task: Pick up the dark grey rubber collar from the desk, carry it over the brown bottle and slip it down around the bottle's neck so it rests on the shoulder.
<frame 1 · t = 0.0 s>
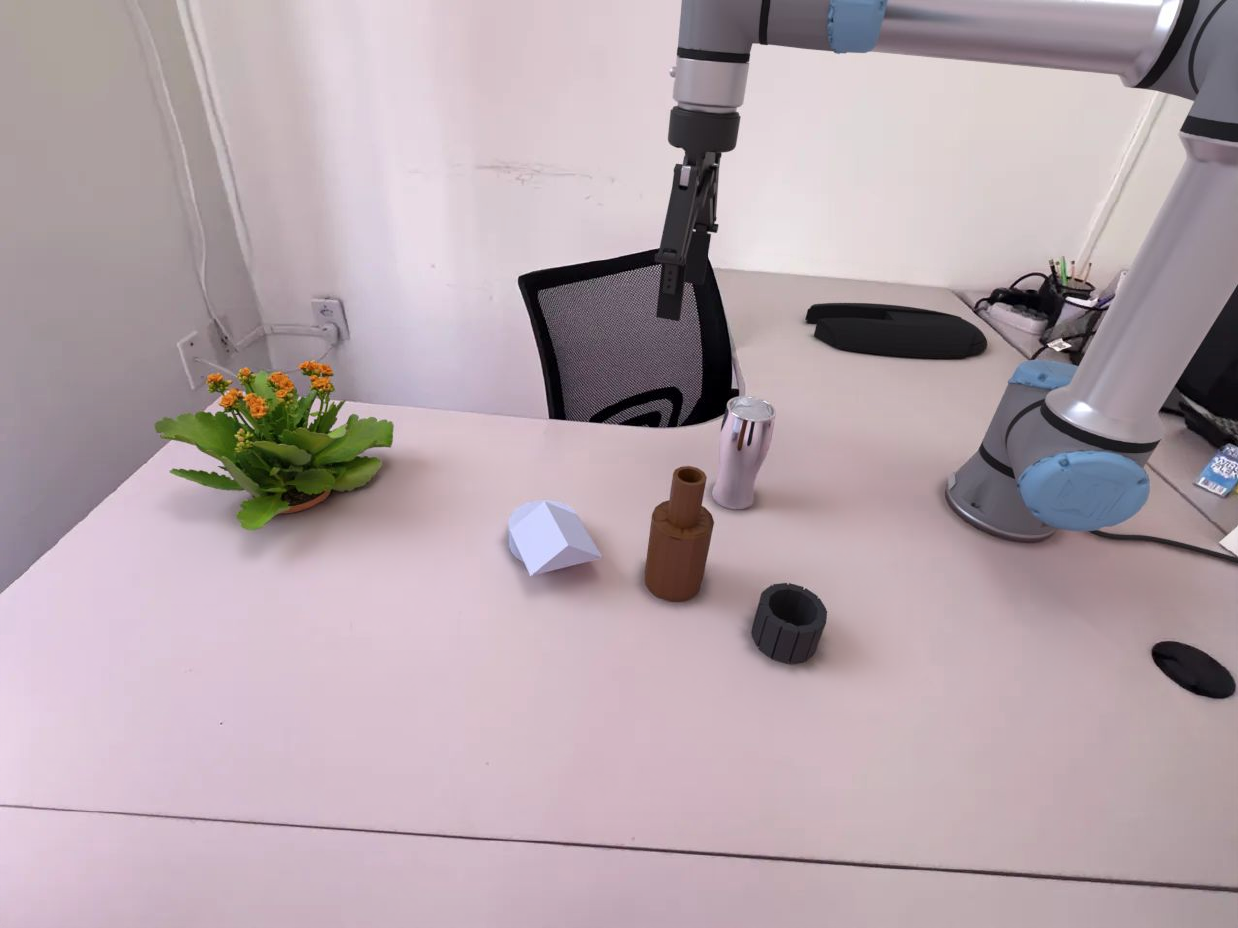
hand: (681, 299, 81), 28 cm above the table, tool pointing down, fingers open, 13 cm apart
beer glass: (732, 498, 95), on the table
potted flower: (288, 496, 88), on the table
wedge on round base: (549, 553, 83), on the table
brown bottle: (672, 580, 80), on the table
rubber collar: (783, 637, 74), on the table
black flat oval pad: (895, 336, 151), on the table
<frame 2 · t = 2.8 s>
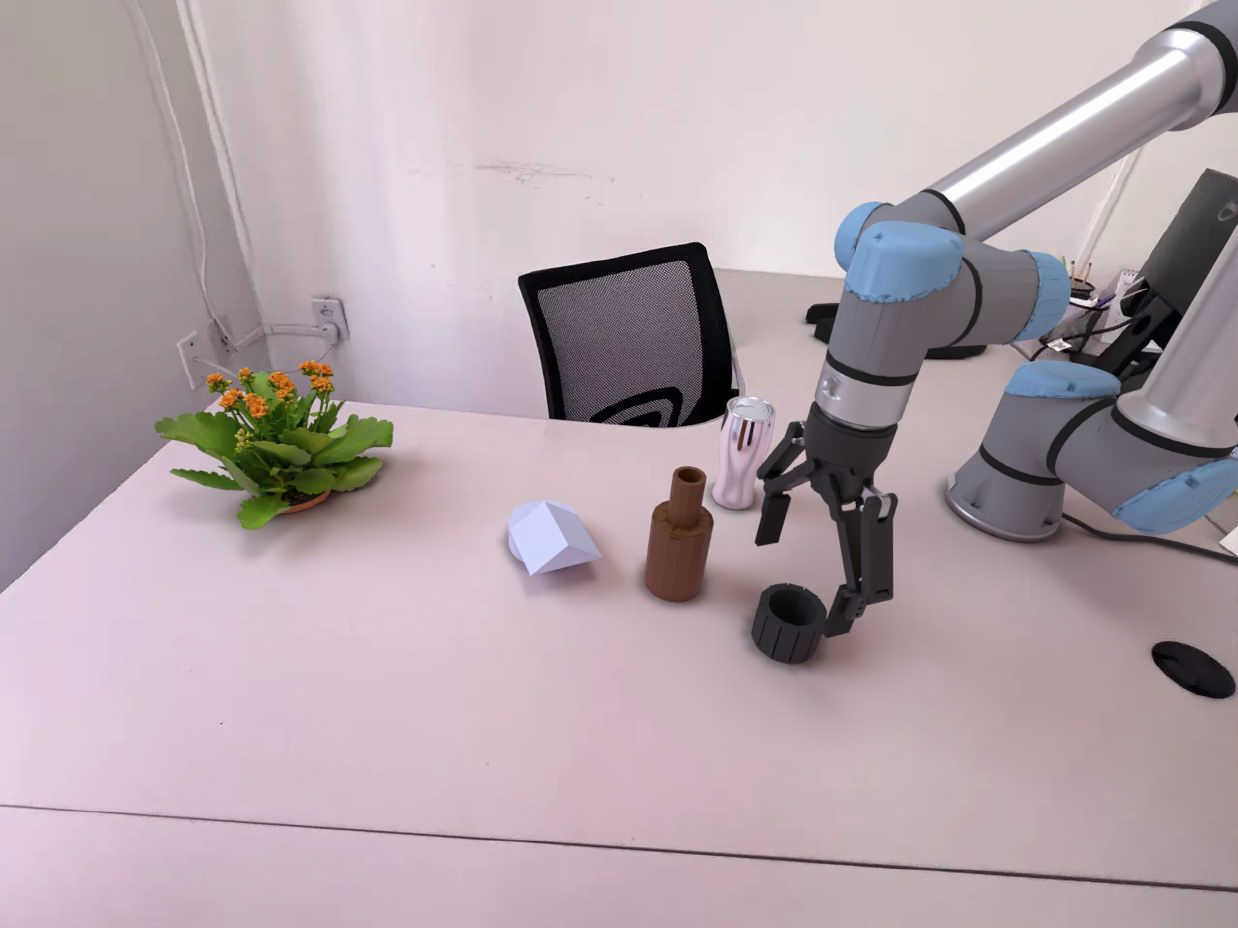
hand: (798, 584, 69), 8 cm above the table, tool pointing down, fingers open, 13 cm apart
nothing on the table moved.
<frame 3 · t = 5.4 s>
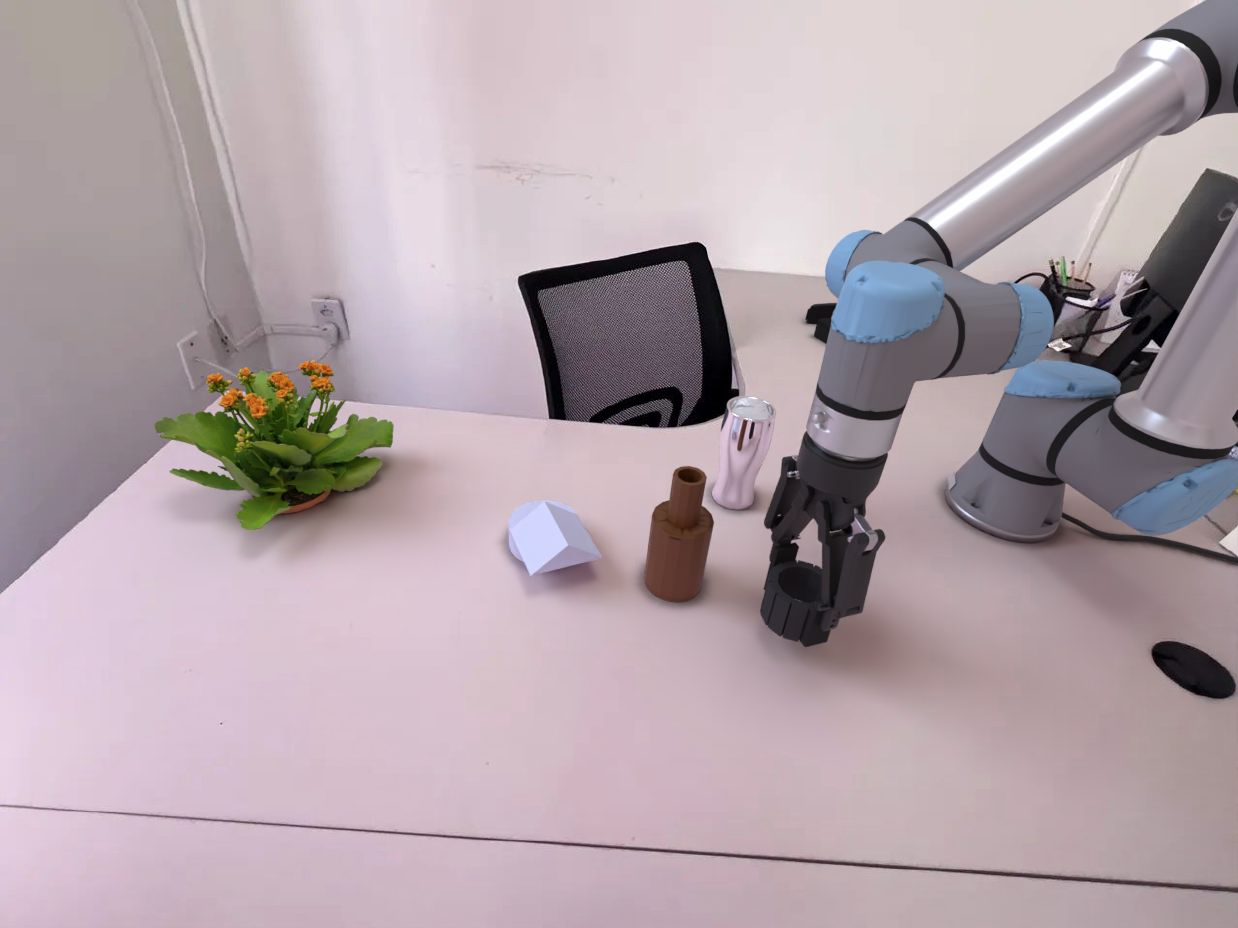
hand: (793, 614, 72), 4 cm above the table, tool pointing down, fingers closed on rubber collar, 7 cm apart
rubber collar: (793, 615, 72), point 3 cm above the table, touching gripper
everything else where it was.
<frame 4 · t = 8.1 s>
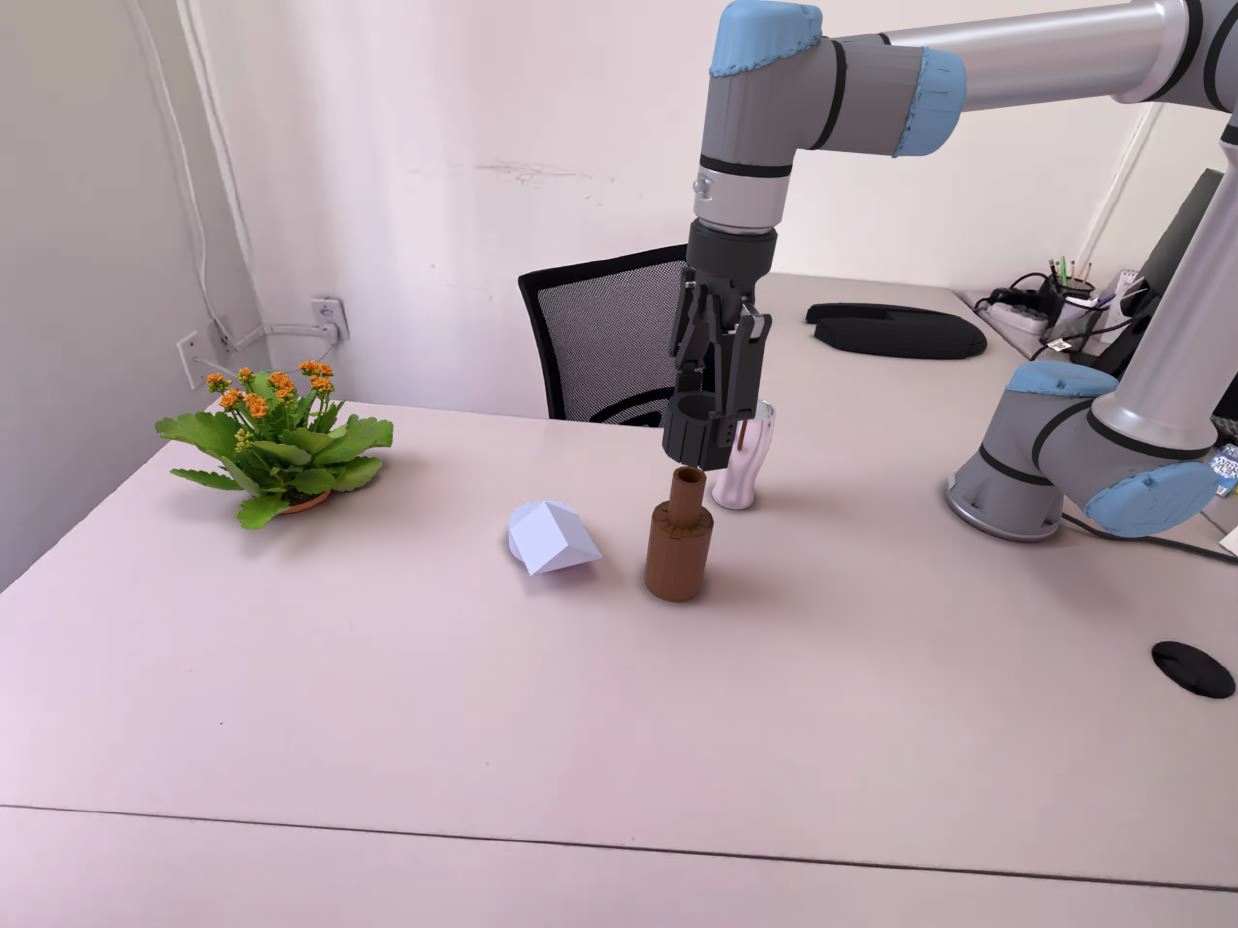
hand: (697, 446, 68), 20 cm above the table, tool pointing down, fingers closed on rubber collar, 7 cm apart
rubber collar: (696, 448, 69), point 20 cm above the table, touching gripper
everything else where it was.
when the fingers open (10 cm above the table, at t = 10.9 s): rubber collar stays where it is, resting on brown bottle.
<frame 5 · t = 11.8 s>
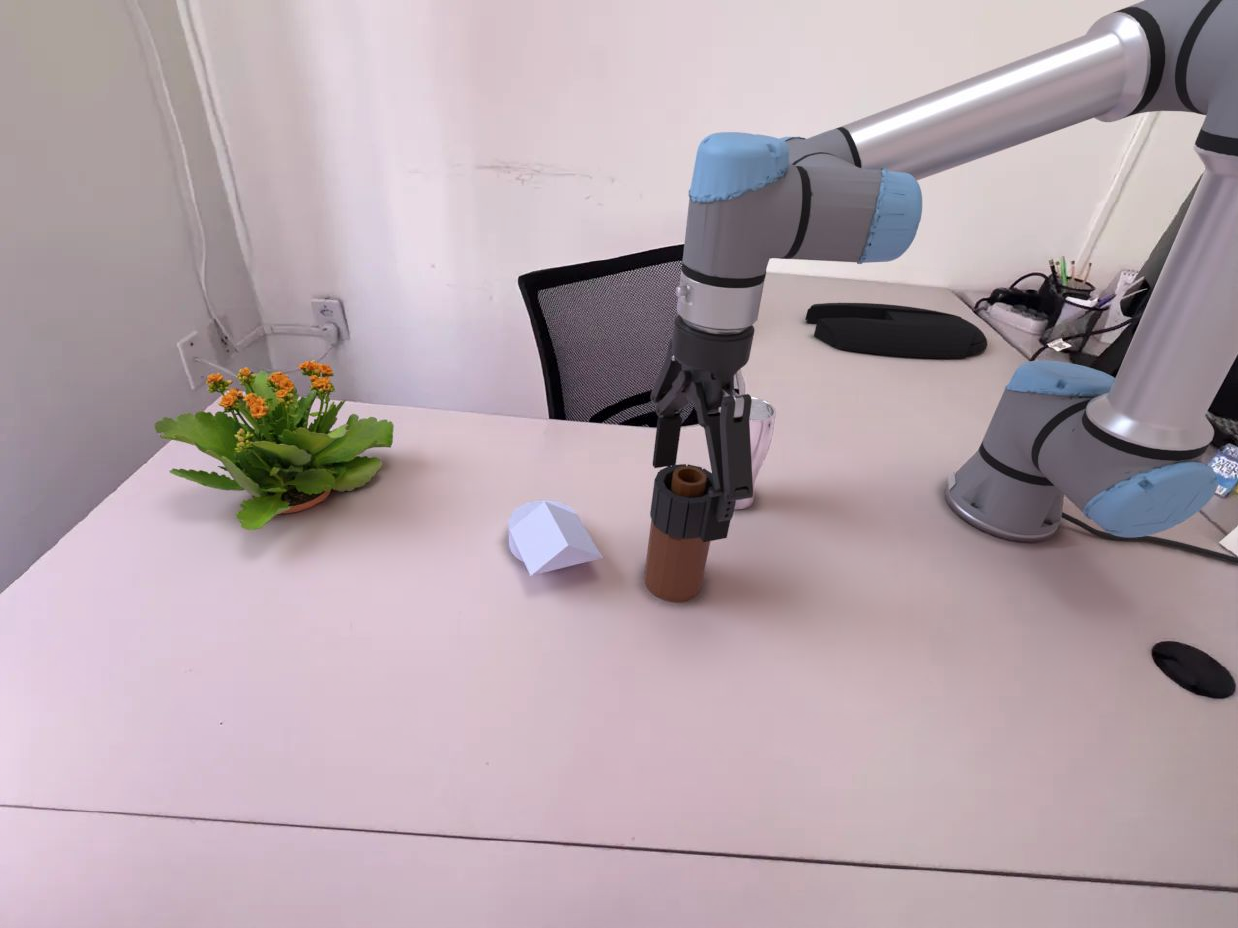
hand: (686, 499, 73), 13 cm above the table, tool pointing down, fingers open, 13 cm apart
rubber collar: (682, 518, 74), point 10 cm above the table, touching brown bottle
everything else where it was.
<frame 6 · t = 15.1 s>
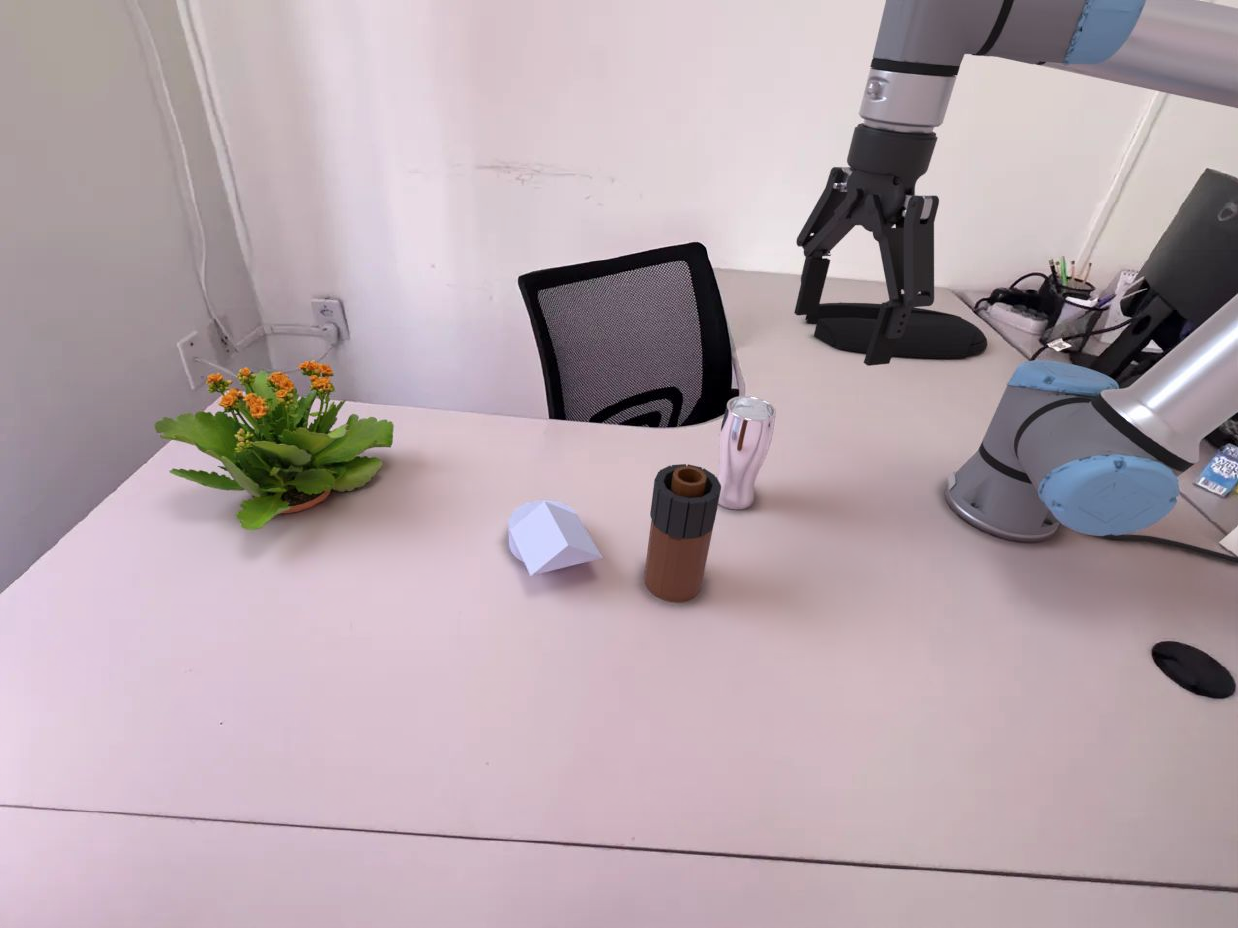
hand: (838, 337, 73), 29 cm above the table, tool pointing down, fingers open, 13 cm apart
nothing on the table moved.
at the end: rubber collar 0.1 cm off-centre in the brown bottle, point 10.0 cm above the brown bottle's base; rubber collar tilted 0°; the gripper is holding nothing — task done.
